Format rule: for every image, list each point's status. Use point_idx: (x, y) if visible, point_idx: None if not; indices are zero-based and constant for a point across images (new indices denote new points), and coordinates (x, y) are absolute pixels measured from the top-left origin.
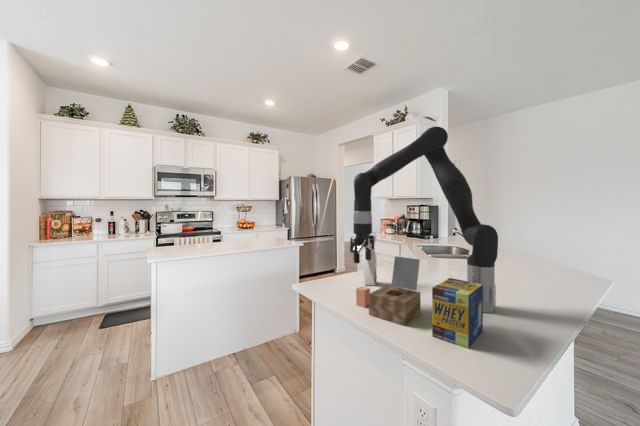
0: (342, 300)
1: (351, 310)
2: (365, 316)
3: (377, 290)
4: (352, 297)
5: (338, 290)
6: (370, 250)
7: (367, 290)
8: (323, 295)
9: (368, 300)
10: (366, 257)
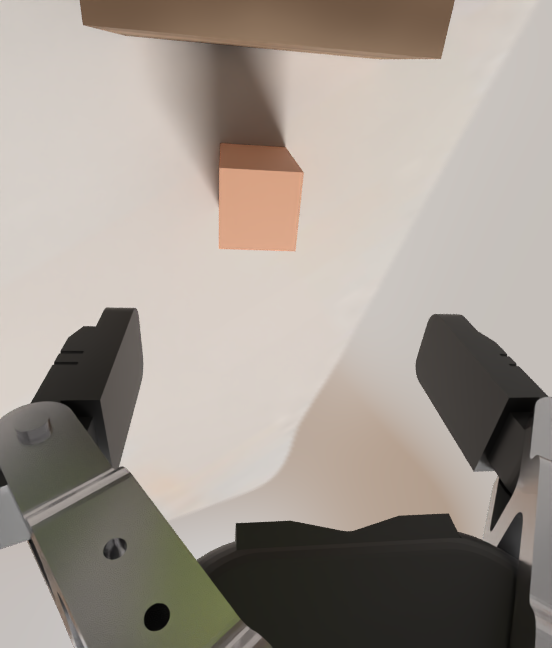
0: (261, 312)
1: (366, 192)
2: (410, 67)
3: (310, 29)
4: (181, 297)
5: (142, 409)
6: (76, 416)
7: (257, 168)
8: (260, 414)
9: (239, 150)
10: (135, 380)
